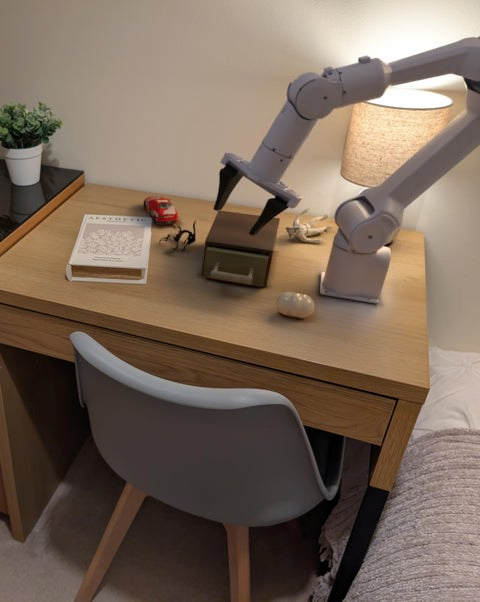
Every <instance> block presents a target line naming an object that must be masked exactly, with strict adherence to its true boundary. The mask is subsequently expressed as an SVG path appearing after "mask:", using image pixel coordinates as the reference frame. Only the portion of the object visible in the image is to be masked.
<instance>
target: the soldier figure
mask: <svg viewBox="0 0 480 602" xmlns="http://www.w3.org/2000/svg"><path fill="white" fill-rule="evenodd" d="M310 210H311V207H307V208H305V209H304V210H302V211H301V212H300V213H299V214H298V215H297V216H296V217H295V218H294V221H293V223H292V226H291V227H288V226H286V227H285V230H286V233H287V235H288V238H289V239H290V238H291V237H292V236H294V235H296V237H297V239H299V240H301V241H303V242H304V243H309V244H315V243H318V244H321V243H323V242H324V239H323V238H316V239H315V238H308V237H311V236H314V235H318V234H323V233H325V231H327V230H329V231H330V230H332V229H333V225H326V226H325V225H324V226H323V227H321V226H320V227H316V228H313V227H314V225H316V224H317V223H318V222H319V221H325V220H327V219H328V218H329V214H324V215H322V216H318V217H317V216H315V217H314V218H310V220H308V222H300V220H301V219H302V218H303V216H304V215H305V214H306V213H309V211H310Z"/></svg>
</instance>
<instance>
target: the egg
mask: <svg viewBox="0 0 480 602" xmlns="http://www.w3.org/2000/svg"><path fill="white" fill-rule="evenodd" d="M275 307H276V309H277V311H278V312H279V313H280V314H281V315H283V316H286V317H292V318H297V319H304V318H305V319H306V318H307V317H309V316H311V315H312V314H313V313H314V311H315V303H314V299H313V298H312V297H311V296H310V295H308V294H305V293H300V292H295V291H285V292H282V293H281V294H280V295H278V297H277V298H276V301H275Z"/></svg>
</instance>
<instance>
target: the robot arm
mask: <svg viewBox="0 0 480 602" xmlns="http://www.w3.org/2000/svg"><path fill="white" fill-rule="evenodd" d="M446 75H455V76H458V77H461V78H462V80H463V84H464V86H465V91H466V93H465V107H464V109H463V110H462V111H461V112H460V113H459V114H458V115H457V116H456V117H454V118H453V119H452V120H451V121H450V122H449V123H448V124H446V125H445V126H444V127H443V128H442V129H441V130H440V131H438V133H436V134H435V135H434V136H433V137H432V138H431V139H430V140H429V141H428V142H426V143H425V144H423V146H422V147H421V148H420V149H418V150H417V151H416V152H415V153H414V154H413V155H412V156H411V157H410V158H408V160H406V161H405V162H404V163H402V165H400V167H398V168H397V169H396V170H395V171H394V172H393V173H391V174H390V175H389V176H387V178H386V179H385V180H383V182H382V183H380V184H379V185H377V186H373V187H369V188H364V189H363V190H362V191H361V192H360V193H358V194H357V195H356V196H353V197H350V198H348V199H345V200H343V202H341V203H340V204H339V205H338V206H337V208H336V209H335V212H334V216H333V219H334V223H335V225H336V227H337V228H338V229H337V232H336V233H335V235H334V237H333V240H332V244H331V249H330V252H329V257H328V261H327V265H326V268H325V271H321V272H320V282H319V294H320V295H324V296H327V297H335V298H339V299H340V298H341V299H346V300H351V301H358V302H364V303H370V304H379V302H380V296H381V294H382V290H383V286H384V284H385V281H386V278H387V274H388V271H389V268H390V264H391V257H392V249H391V248H390V247H388V246H385V245H386V244H387V243H388V241H389V239H390V238H391V235H392V234H393V233H394V232H395V231H396V230H397V229H398V228H400V226H401V224H402V220H403V216H404V211H405V209H406V208H407V207H408V206H410V205H411V204H412V203H414V201H416V200H417V199H418V198H419V197H420V196H422V195H423V194H424V193H425V192H426V191H427V190H429V189H430V188H431V187H432V186H433V185H435V184H436V183H437V182H438V181H440V180H441V178H443V177H444V176H445V175H447V173H449V172H450V171H451V170H452V169H454V168H455V167H456V166H457V165H458V164H459V163H461V162H462V161H463V160H464V159H465V158H466V157H467V156H469V155H470V154H471V153H472V152H473V151H475V150H476V149H477V148H478V147H479V146H480V35H479V36H469V37H465V38H462V39H460V40H457V41H454V42H451V43H448V44H445V45H442V46H439V47H435V48H432V49H429V50H426V51H421V52H418V53H416V54H413V55H409V56H406V57H403V58H400V59H397V60H392V61H390V62H387V63H386V62H385V61H383V60H382V59H380V58H379V57H373V58H371V57H370V56H368V54H367V55H363V56H359V57H358V58H357V62H353V63H350V64H347V65H342V66H338V67H335V68H333V67H332V66H327V67H324V68H323V72H322V73H318V72H315V71H308V72H305V73H302V74H300V75H299V76H297V78H296V79H294V80H293V81H292V82H289V83H288V86H287V89H286V101H285V103H284V104H283V105H282V107H281V109H280V111H279V112H278V114H277V115H276V117H275V119H274V121H273V123H272V124H271V125H270V127H269V129H268V131H267V132H266V134H265V136H264V138H263V139H262V140H261V142H260V144H259V146H258V148H257V150H256V151H255V153H254V155H253V156H252V158H251V159H250V161H248V160H246V159H244V158H242V157H240V156H238V155H237V154H235V153H233V152H232V151H226V152H224V154H223V156H222V158H221V160H220V162H219V163H220V164H222V165H223V167H221V168H220V170H219V173H218V177H219V178H218V190H217V195H216V199H215V202H214V205H213V208H212V209H213V210H214V211H216V212H218V211H219V210H220V211H222V209H223V208H224V207H225V205H226V203H227V202H228V200H229V198H230V196H231V194H232V193H233V191H234V190H235V188H236V187H237V185H238V184H239V182H240V181H241V180H242V178H243V177H244V178H245V179H247V180H248V181H250V182H252V183H253V184H255V185H256V186H258V187H259V188H261V189H263V190H264V191H265V192H267V193H269V194H270V195H272V196H273V197H270V198H268V199H267V201H266V203H265V205H264V207H263V209H262V210H261V213H260V214H259V216H260V217H259V218H258V220H257V221H256V223H255V224H254V226H253V227H252V228H251V230H250V232H249V234H250V235H252V236H253V235H256V234H257V233H258V232H259V231H260V230H261V229H262V228H263V227H264V226H265V225H266V224H267V223H268V222H269V221H270V220H271V219H273V218H276V217H277V216H279V215H280V214H281V213H283V212H284V211H285V210H288V209H289V208H290V209H295V208H297V207H298V205H299V204H300V202H301V201H302V199H303V196H301V195H300V194H298V193H297V192H295V191H294V190H293V189H292V188H290V187H289V186H287V185H286V184H285V183H284V182H283V181H281V180H282V179H283V177H284V176H285V174H286V173H287V171H288V169H290V166H291V164H292V163H293V162H294V160H295V158H296V157H297V155H298V153H299V152H300V150H301V149H302V147H303V145H304V144H305V142H306V141H307V139H308V138H309V136H310V134H311V133H312V130H313V129H314V127H315V125H317V123H318V121H319V120H322V119H325V118H327V117H328V116H329V115H330V114H331V113H332V112H333V111H334V110H337V109H338V110H339V109H341V108H346V107H349V106H353V105H356V104H361V103H365V102H369V101H372V100H377V99H380V98H382V97H383V96H384V95H385V93H386V92H387V91H388V90H389V89H390V88H391V87H394V86H399V85H405V84H409V83H414V82H418V81H422V80H428V79H432V78H438V77H442V76H446Z"/></svg>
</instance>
